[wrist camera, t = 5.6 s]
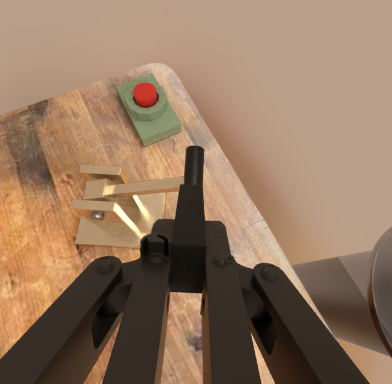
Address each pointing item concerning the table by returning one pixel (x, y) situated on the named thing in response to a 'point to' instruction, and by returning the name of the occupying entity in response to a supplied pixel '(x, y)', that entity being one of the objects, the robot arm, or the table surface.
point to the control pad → (149, 112)
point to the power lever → (112, 191)
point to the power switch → (116, 213)
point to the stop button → (145, 94)
